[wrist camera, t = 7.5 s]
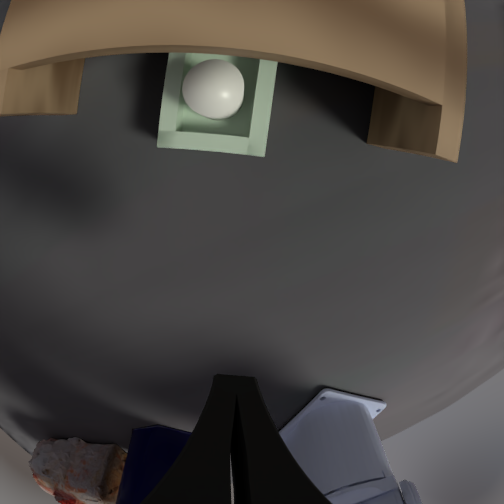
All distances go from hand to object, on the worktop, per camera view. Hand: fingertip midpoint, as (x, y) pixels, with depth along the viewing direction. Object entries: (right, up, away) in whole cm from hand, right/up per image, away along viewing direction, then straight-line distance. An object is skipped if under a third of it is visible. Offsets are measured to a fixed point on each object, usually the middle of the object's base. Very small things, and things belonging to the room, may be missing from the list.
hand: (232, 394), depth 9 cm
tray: (-1, +14, +4) cm, 15 cm away
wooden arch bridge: (-1, +16, +4) cm, 17 cm away
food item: (-20, -20, +18) cm, 34 cm away
